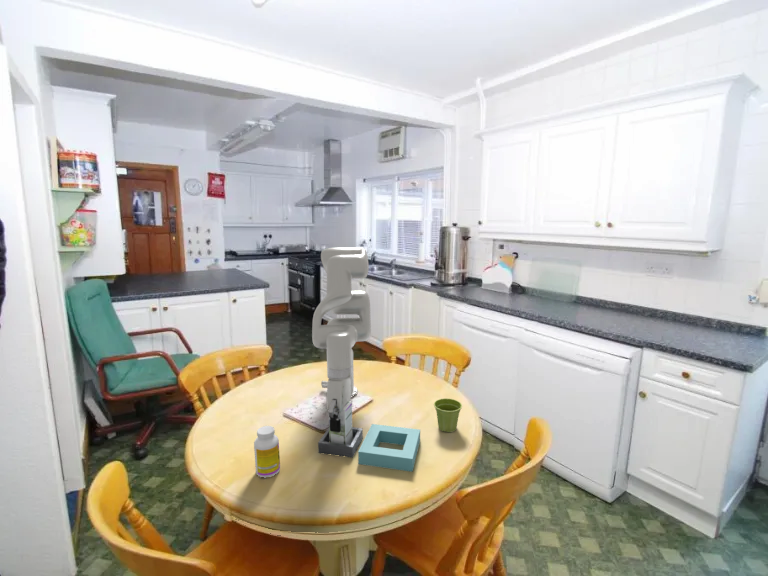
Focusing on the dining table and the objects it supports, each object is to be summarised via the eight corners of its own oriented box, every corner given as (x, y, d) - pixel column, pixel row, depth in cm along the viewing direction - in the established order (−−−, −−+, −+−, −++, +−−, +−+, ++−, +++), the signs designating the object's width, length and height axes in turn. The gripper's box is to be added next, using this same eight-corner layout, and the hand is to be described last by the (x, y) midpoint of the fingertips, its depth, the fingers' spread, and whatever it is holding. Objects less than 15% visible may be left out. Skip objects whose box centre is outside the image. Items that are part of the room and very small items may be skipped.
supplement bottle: (283, 473, 111) (281, 431, 108) (259, 482, 107) (257, 439, 105) (276, 461, 116) (273, 421, 114) (253, 469, 113) (250, 428, 110)
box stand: (318, 453, 120) (318, 442, 120) (331, 434, 131) (330, 424, 130) (352, 457, 118) (352, 447, 117) (362, 438, 128) (362, 428, 128)
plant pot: (444, 438, 128) (444, 413, 127) (428, 425, 137) (428, 401, 135) (466, 431, 133) (467, 407, 131) (449, 418, 141) (450, 396, 139)
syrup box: (353, 442, 126) (352, 400, 124) (345, 452, 121) (344, 408, 118) (337, 438, 128) (336, 397, 125) (328, 448, 123) (327, 405, 120)
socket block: (358, 464, 115) (358, 451, 114) (372, 435, 130) (372, 423, 130) (412, 471, 111) (412, 458, 111) (420, 441, 127) (420, 429, 126)
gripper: (337, 360, 129) (338, 409, 132) (317, 381, 112) (318, 436, 115) (359, 362, 127) (360, 411, 130) (342, 383, 111) (343, 439, 114)
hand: (340, 423), depth 123 cm, fingers open, 9 cm apart
